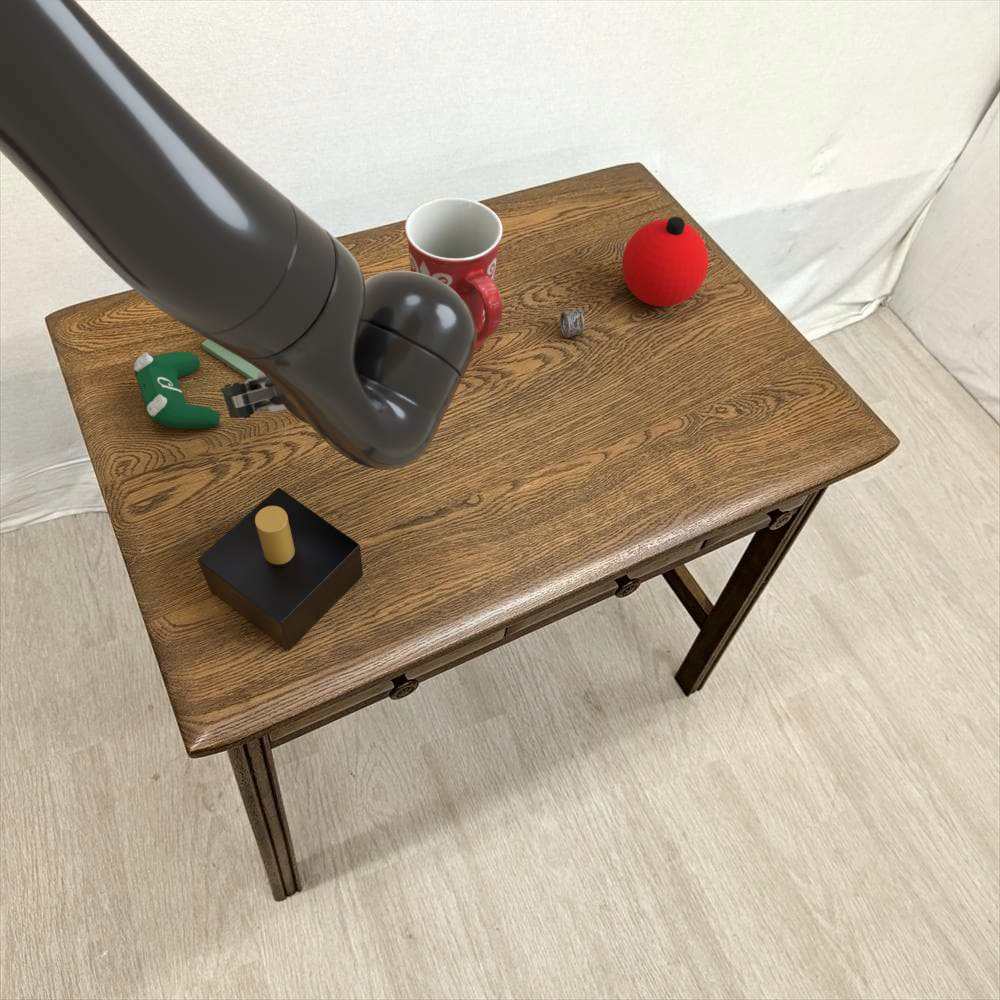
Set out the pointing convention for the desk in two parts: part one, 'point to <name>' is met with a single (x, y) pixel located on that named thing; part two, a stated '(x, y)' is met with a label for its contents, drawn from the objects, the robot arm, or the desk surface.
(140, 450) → the desk surface
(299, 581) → the ring stand
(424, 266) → the mug
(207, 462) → the desk surface
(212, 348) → the mat
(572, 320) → the decorative ring
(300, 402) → the robot arm
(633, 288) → the ornament
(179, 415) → the gaming controller
